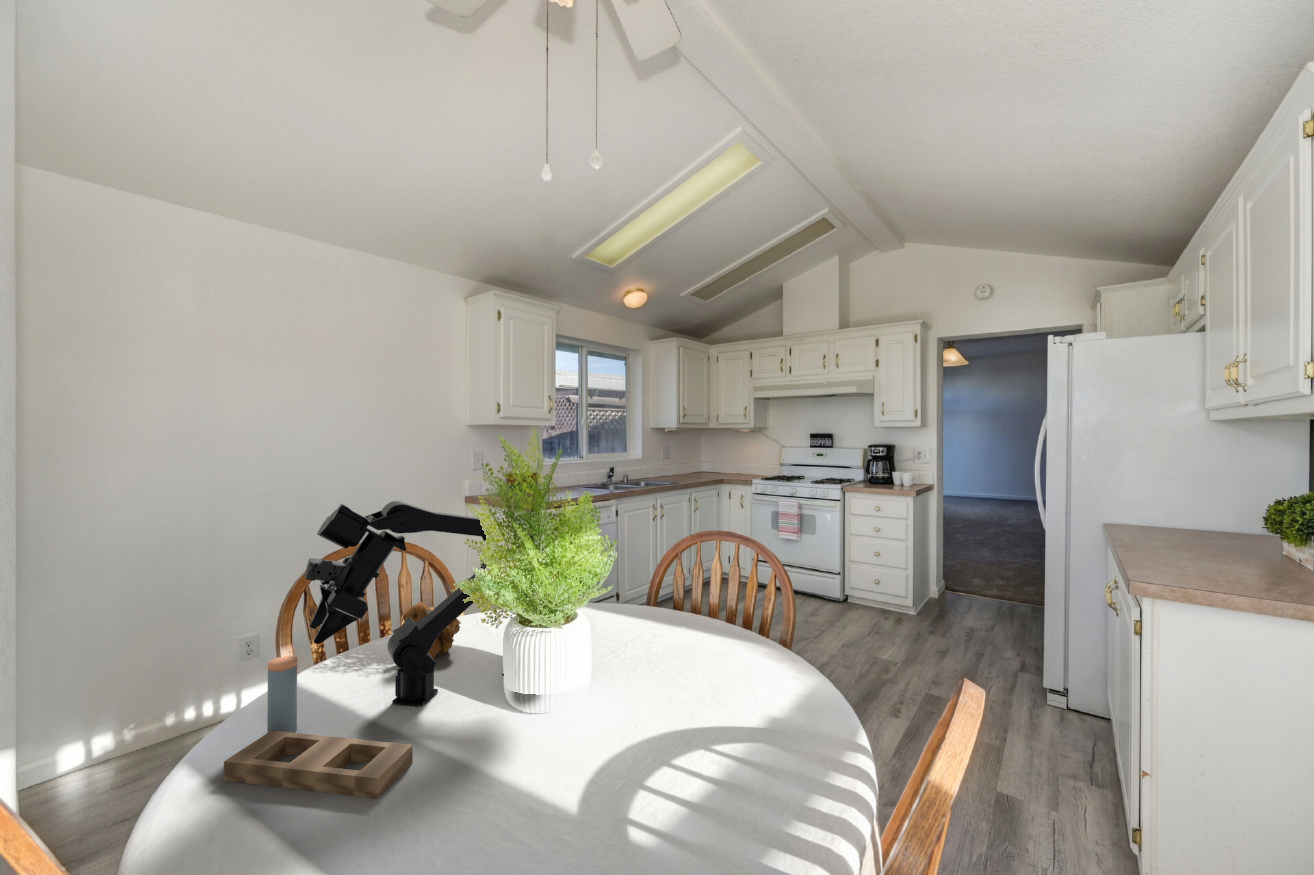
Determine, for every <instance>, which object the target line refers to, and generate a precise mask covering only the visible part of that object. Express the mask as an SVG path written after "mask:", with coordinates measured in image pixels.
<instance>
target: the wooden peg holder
mask: <svg viewBox="0 0 1314 875" xmlns="http://www.w3.org/2000/svg"><path fill="white" fill-rule="evenodd" d="M413 748H414V746H413V744H410V743H409V744H408V743H406V744H405V743H398V742H388V741H379V740H369V739H367V740H366V739H360V738H349V737H339V736H328V735H318V734H309V733H299V732H295V733H291V732H281V731H270V732H269V733H267V732H266V734H264V735H262V736H261V737H259V738H258V739H256V740H255V741H253V742H252V743H250V744H249V745H247V746H245V747H244V748H242V749H241V750H239V751H238V752H236V753H234V754H233V755H232V756H230V757H228V758H226V759H225V760H223V781H225V782H233V783H243V784H252V785H260V786H268V787H278V788H284V789H285V788H287V789H292V790H293V789H295V790H303V791H309V792H320V793H330V794H335V795H337V794H338V795H344V796H352V797H353V796H354V797H362V798H371V799H379V798H380V797H381V795H383V794H384V793H385V791H387V790H388V789H389V788H390V787H391V786H392V785H393V784H394V783H395V781H397V780H398V778H399V777H400V776H402V774H404V773H405V771H406V770H407V769H409V767H410V766H411V765H412V764H413V756H414V755H413V751H414V750H413ZM285 755H288V756H296V757H295V758H294V759H293V760H291V761H290V762H285V761H278V760H280V759H281V758H282V757H284V756H285ZM352 762H353V763H363V764H366V765H365V766H363V768H361V769H360V770H359V769H358V770H357V769H348V768H345V767H346V766H347V765H349V763H352Z"/></svg>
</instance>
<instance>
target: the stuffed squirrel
mask: <svg viewBox="0 0 1314 875" xmlns="http://www.w3.org/2000/svg"><path fill="white" fill-rule="evenodd" d="M424 603H425V602H424V601H421V600H420V601H419V602H418V603H416V604H414V605H412V606H410V607H409V608H408V609H407V610H406V611H405V612H404V613H403V616H402V617H401V619H400V621H401V622H400V623H401V624H403V623H404V622H405V621H406V620H407V619H408V618H411V619H412V620H413V621H414V622H415V621H417V620H420V619H422V618H424V617H425V616H427V615H428V614H429V613H430V612H431V611H432V610H433V609H432V608H429V607H428V606H427V605H426V604H424ZM461 624H462V621H460V619H458V617H457V618H456V619H455V620H454V621H453V622H452V623H451V624H450V625H448V626H447V627H446V628H445V629H444V630H443V631H442V632H441V633H440V634H439V635H438V636H437V638H436V640H435V642H434V644H433V645H432V647H431V649H430V650H429V651H428V652H429V653H430V655H431V656H432V657H433V659H435V658H436V655H438V656H442V655H444V654H446V653H447V652H449V651H450V649H451V648H452V646H453V643H454V642H455V640H454V637H455V635H457V634H458V632H460V629H461V626H460V625H461ZM443 653H444V654H443Z"/></svg>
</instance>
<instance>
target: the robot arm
mask: <svg viewBox="0 0 1314 875" xmlns="http://www.w3.org/2000/svg"><path fill="white" fill-rule="evenodd" d="M479 518H480V517H475V516H467V515H459V514H452V513H446V512H445V513H444V512H437V511H431V510H428V509H425V508H422V507H419V506H415V505H413V504H409V503H406V502H403V501H400V500H394V501H390V502H388V503H387V504H385V505H384V507H383V508H382V509H380V510H379V511H376V512H373V513H369V514H368V515H365V516H363V515H362V514H359V513H358V512H356V511H354V510H352V509H351V508H350V507H349V506H347V505H345V504H343V503H340V505H339V506H338V507H337V508H336V509H334V511H333V512H332V513H331V514H330V516H327V517H326V518H325V520H324V521H323V522H322V524H321V525H320V527H319V529H318V530H317V534H316V535H317V536H319V537H321V538H322V539H325V540H327V541H329V542H331V543H333V544H335V545H337V546H339V547H341V548H343V549H346V550H347V549H348V548H349V547H351V548H353V547H354V548H355V547H357V548H356V549H355V550H354V552H353V553H352V554H351V556H350V555H348V556H346V557H344V558H343V560H341V561H337V560H332V559H324V558H314V557H313V558H312V557H311V558H308V561H307V564H306V568H305V571H304V575H303V576H304V579H305V580H307V581H313V582H315V581H319V582H320V584H319V590H320V594H321V597H320V598H321V599H320V601H319V603H318V606H317V608H316V610H315V613H314V615H313V618H312V620H311V622H310V624H309V628H311V629H312V630H316V629H318V627H319V629H318V631H317V633H316V635H315V637H314V639H313V644H317V645H320V644H322V643H324V642H325V641H326V640H328V639H330V638H331V637H332V636H335V635H336V634H337V633H338V632H339V631H341V630H343V629H344V628H346V627H348V626H349V625H350V624H352V623H354V622H357V621H358V620H359V619H360V620H362V619H363V618H364V617H365V615H366V613H367V611H368V610H369V608H368V603H367V601H366V600H365V598H364V597H365V596H366V594H367V592H366V589H367V588H368V586H369V585H370V583H371V582H372V581H373V579H378V577H379V576H380V573H379V571H380V569H381V567H382V566H383V565H384V563H385V562H386V560H387V559H388V557H389V556H390V555H391V553H392V552H393V551H394V550H395V548H397V549H398V550H401V551H402V552H406V551H407V546H406V541H405V539H406V537H404V535H399V536H395V535H394V534H391V533H390V532H392V533H395V534H415V533H423V532H437V533H438V532H439V533H448V534H455V535H457V534H458V535H463V536H465V535H466V536H474V537H481V538H482V541H483V542H484V541H485V540H486V535H485V534H484V531H483V530H482V526H481V525H480V520H479ZM369 527H370V528H369ZM371 528H373V529H374V530H376V531H374V530H373V529H371ZM388 530H389V531H390V532H388ZM377 531H381V532H380V533H378V532H377ZM364 536H365V537H364ZM480 568H483V569H485V568H486V564H484V563H483V562H482V563H481V566H480V567H479V569H480ZM474 578H475V573H474V574H472V575H471V576H470V577H469V578H468V579H467V580H470V579H474ZM467 597H470V596H469V595H467V594H464V593H463V592H462V591H461V590H460V588H459V587H458V588H457V589H455V590H454V591H453V592H452V593H451V594H450V595H448V596H447V597H446V598H445V599H444V600H442V601H441V602H440V603H439V604H438V605H437V606H436V607H435V608H434V609H431V610H432V611H431V612H430V613H429V614H428V615H427V616H425V617H424V618H422V619H420V620H417V621H415V622H414V621H413V620H412V619H411V618H408V619H407V620H406V621H405V622H404V621H403V622H402V623H401V625H400V626H399V627H397V628H395V629H393V630H392V633H393V634H392V635H391V636H390V638H389V639H388V641H387V648H386V649H387V651H388V654H389V655H390V658H391V659H392V661H393V663H394V664H395V666H397V667H399V668H397V670H396V671H397V672H396V675H395V677H394V678H395V683H394V687H395V688H394V689H395V690H394V694H395V695H394V696H395V698H393V700H392V701H391V704H393V705H394V704H395V705H404V706H405V705H407V706H414V707H416V706H417V707H421V706H423V705H425V704H426V703H427V702H428V701H429V700H430V699H431V698H433V697H434V696H435V695H436V694H437V693H438V692H439V689H438V688H435V667H436V665H437V662H436V660H435V658H433V657H432V656H431V655H430V653H429V652H428V651H429V650H430V649H431V647H432V645H433V644H434V642H435V640H436V638H437V636H438V635H439V634H440V633H441V632H442V631H443V630H444V629H445V628H446V627H447V626H448V625H450V624H451V623H452V622H453V621H454V620H455V619H456V618H457V619H458V618H459V616H461V614H463V613H465V611H466V610H467V609H469V608H470V607H471V606H472V605H474V603H475V602H473V601H468V602H466V603H464V601H462V600H463V599H466V598H467Z"/></svg>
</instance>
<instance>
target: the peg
mask: <svg viewBox="0 0 1314 875" xmlns="http://www.w3.org/2000/svg"><path fill="white" fill-rule="evenodd" d="M266 720H267V722H266V724H267V727H266V728H267V729H266V730H267V732H266V734H267V733H269V732H270V731H281V732H291V733H297V730H298V656H295V655H294V656H293V655H288V656H287V655H285V656H280V657H276V658H274V659H271V660H270V661H268V662H267V719H266Z"/></svg>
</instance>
